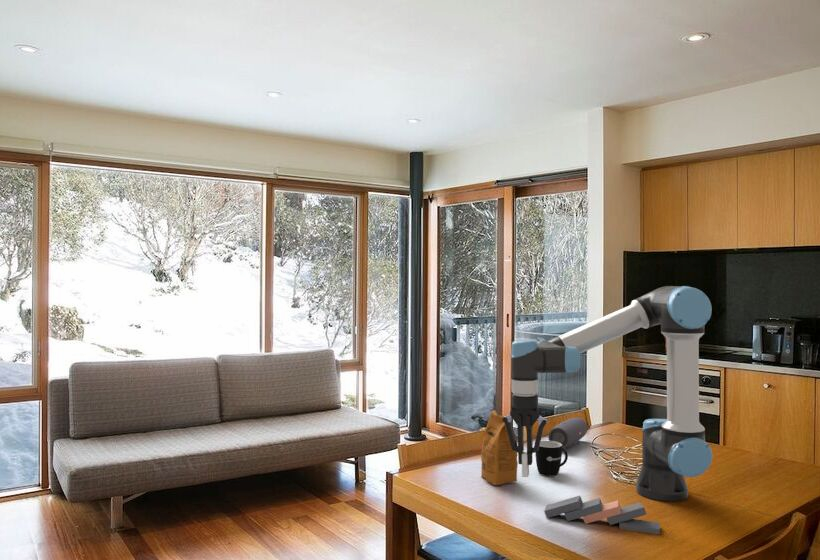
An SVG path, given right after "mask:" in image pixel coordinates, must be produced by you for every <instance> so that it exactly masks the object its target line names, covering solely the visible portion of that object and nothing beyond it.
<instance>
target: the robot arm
mask: <svg viewBox="0 0 820 560" xmlns="http://www.w3.org/2000/svg"><path fill="white" fill-rule="evenodd" d="M712 309H713V308H712V303H711V301H710V299H709V297H708V296H707V295H706V293H705V292H703V291H702V290H700V289H698V288H696V287H691V286H689V285H682V286H678V285H677V286H676V285H675V286H674V285H665V286H662V287H658V288H656V289H654V290H652V291H649V292H648V293H645V294H643V295H641V296H640V297H637V298H634V299H633V300H631V302H630V304H629V305H628V306H625V307H622V308H620V309H618V310H616V311H613V312H611V313H609V314H606V315H604V316H602V317H601V316H600V318H597V319H595V320H593V321H590V322H588V323H585V324H583V325H580V326H579V327H576V328H574V329H571V330H569V331H567V332H565V333H563V334H560V335H557V336H556V337H553V338H551V339H549V340H541V341H537V340H535V339H515V340H513V341H512V343H511V350H510V351H511V352H510V362H511V363H510V365H511V367H510V368H511V381H510V382H511V383H510V385H511V389H510V391H511V393H512V394H511V410H510V412H509V413H508V415H504V416H505V417H504V418H503V422H504V423H505V425H506V428H507V432H508V436H509V440H510V444H511V448H512V450H513V451H516V452H517V462H518V465H521V477H522V478H528V477H529V475H530V466H531V465H532V464H533V454H534V453H536V452H537V451H538V450H539V446H540V442H541V441H542V437H543V434H544V430H545V426H546V424H548V421H549V420H548V418H545V417H543V416H541V412H540V411H539V395H538V392H539V379H538V378H539V376H538V375H539V373H540V374H545V373H546V374H547V373H549V374H550V373H551V374H555V373H557V374H559V373H562V374H564V373H566V374H569V373H577V372H578V371H579V370H580V367H581V354H583V353H585V352H588V351H589V350H592V349H594V348H596V347H599V346H601V345H603V344H606V343H607V342H610V341H613V340H615V339H617V338H619V337H622V336H624V335H627V334H628V333H631V332H633V331H636V330H638V329H640V328H643V329H649V328H652V327H655V326H658V325H660V333H661V334H662V335H663V336H664V337H665V338H666V416H667V417H666V418H648V419H645V420H644V421H643V422H642V424H643V425H642V430H641V432H642V449H641V450H642V455H641V457H642V459H641V461H642V465H641V469H640V472H639V474H638V477H637V480H636V483H635V491H636V493H637V494H639V495H641V496H643V497H645V498H648V499H652V500H657V501H663V502H681V501H685V500H687V499H688V498H689V487H688V483H687V482H686V478H696V477H698V476H701V475H703V474H704V473H705V472H706V471H707V470H709V468H710V466H711V465H712V462H713V461H712V460H713V451H712V448H711V446H710V445H709V443H707V441H706V429H705V427H704V425H702V423H701V422H700V381H699V380H700V369H699V367H700V364H699V363H700V362H699V361H700V359H699V358H700V357H699V355H700V353H699V352H700V351H699V347H700V346H699V345H700V344H699V343H700V338H702V337H703V335H705V325H706V324H707V322H708V321H710V319H711V317H712V312H713V311H712ZM512 421H514V423H515V424H516V427H517V428H516V429H517V439H518V444H517V442H516V438H515V435H516V433H515V430H514V427H513V426H514V425H513V423H512ZM537 421H538V425H539V426H538V428H537V433H536V437H535V440H534V442H533V437H534V436H533V429H534V427H533V426H534V425H535V423H536V422H537ZM524 429H525V430H526V451H524V450H525V446H524V443H525V442H524V441H525V440H524V439H525V437H524V434H525V433H524ZM514 433H515V434H514ZM533 443H534V444H533ZM680 500H681V501H680Z"/></svg>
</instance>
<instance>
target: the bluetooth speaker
mask: <svg viewBox="0 0 820 560" xmlns="http://www.w3.org/2000/svg"><path fill="white" fill-rule="evenodd" d="M588 430H589V429H588V424H587V422H586V421H585V420H584V419H583V418H581V417H578V416H576V417H575V416H574V417H571V418H569V419H566V420H564V421H562V422H560V423H559V424H557V425H555V426H554V427H553V428H551V429H550V431H549V433H548V441H554V442H558V443H561V444H562V448H564V449H565V450H569V449H570V448H572V447H574V446H575V445H576V443H577V442H579V441H580V440H582V439H583V438H584V437H585V436H586V434H587V432H588Z"/></svg>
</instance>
